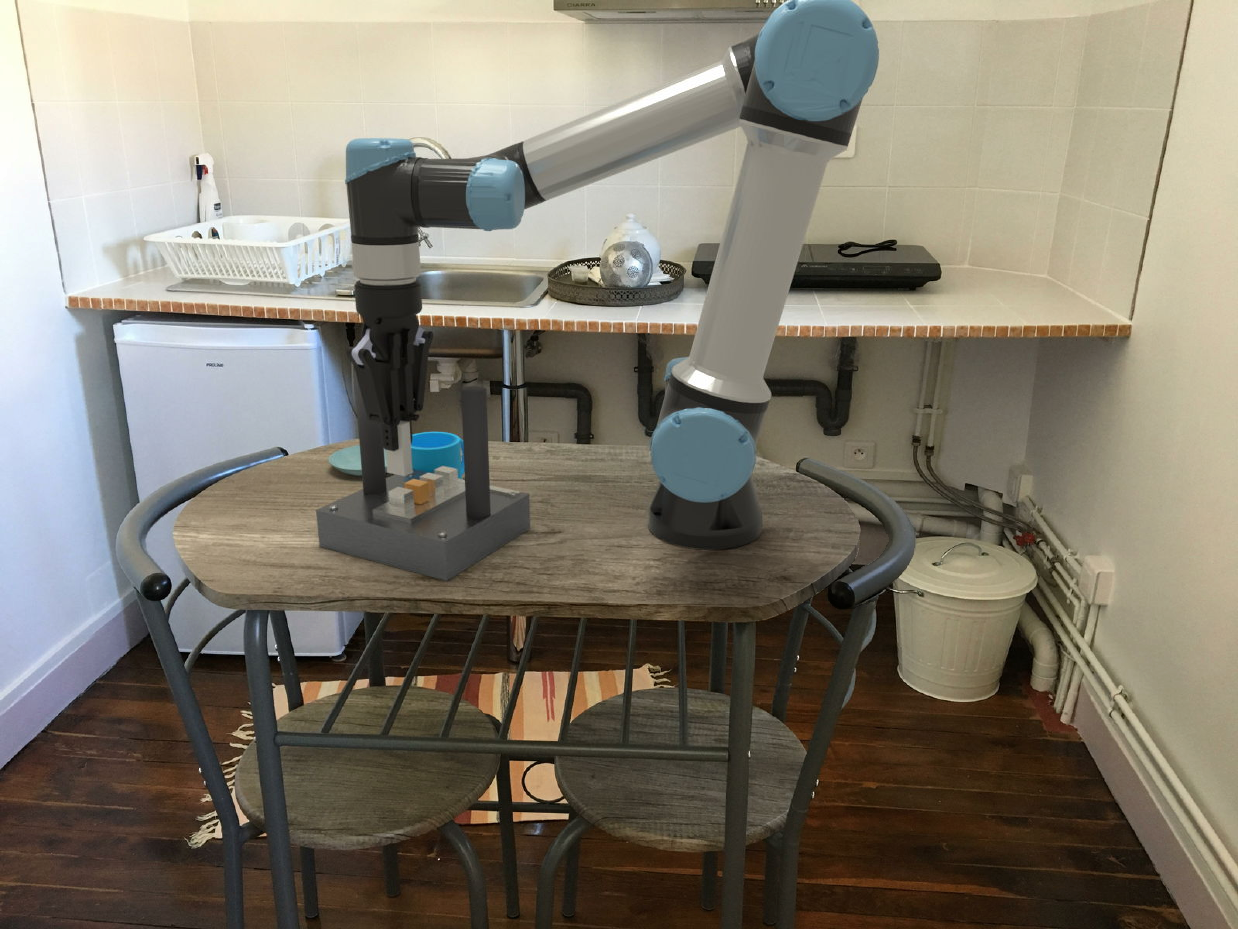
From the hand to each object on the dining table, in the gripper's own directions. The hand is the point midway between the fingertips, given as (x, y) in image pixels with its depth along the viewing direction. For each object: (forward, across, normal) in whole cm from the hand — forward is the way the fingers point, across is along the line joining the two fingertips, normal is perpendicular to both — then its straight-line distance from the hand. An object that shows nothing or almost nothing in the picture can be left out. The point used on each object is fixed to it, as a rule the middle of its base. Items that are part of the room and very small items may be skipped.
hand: (399, 472), depth 124 cm
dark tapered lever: (+5, -4, +8) cm, 11 cm away
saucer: (+11, -21, -24) cm, 34 cm away
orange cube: (+5, -3, 0) cm, 6 cm away
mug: (+11, -20, -9) cm, 24 cm away
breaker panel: (+10, -4, 0) cm, 11 cm away
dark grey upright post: (+5, -4, -8) cm, 11 cm away
